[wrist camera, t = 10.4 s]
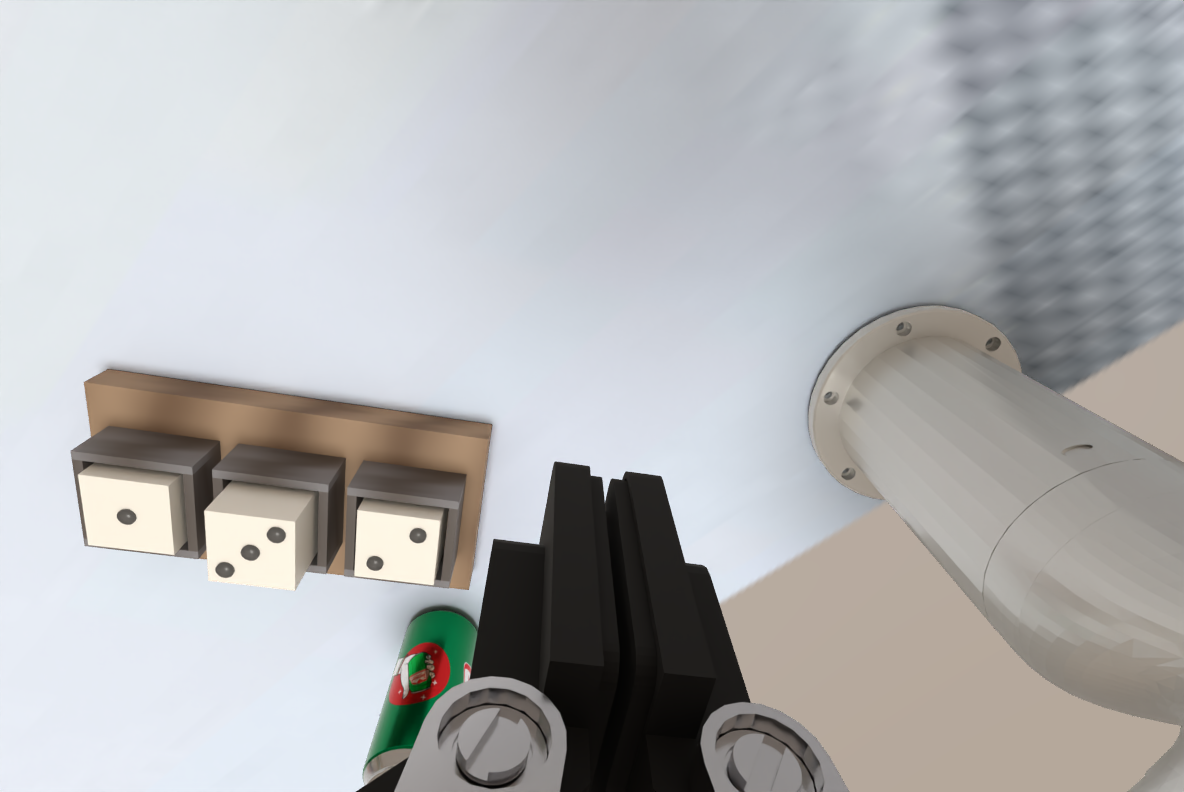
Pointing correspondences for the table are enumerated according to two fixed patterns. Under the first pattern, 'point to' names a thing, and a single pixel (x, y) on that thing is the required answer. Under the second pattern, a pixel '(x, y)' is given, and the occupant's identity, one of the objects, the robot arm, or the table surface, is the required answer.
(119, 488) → the one dot button
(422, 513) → the two dot button
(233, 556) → the three dot button
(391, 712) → the soda can
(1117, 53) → the table surface
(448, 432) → the button panel
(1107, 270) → the table surface
